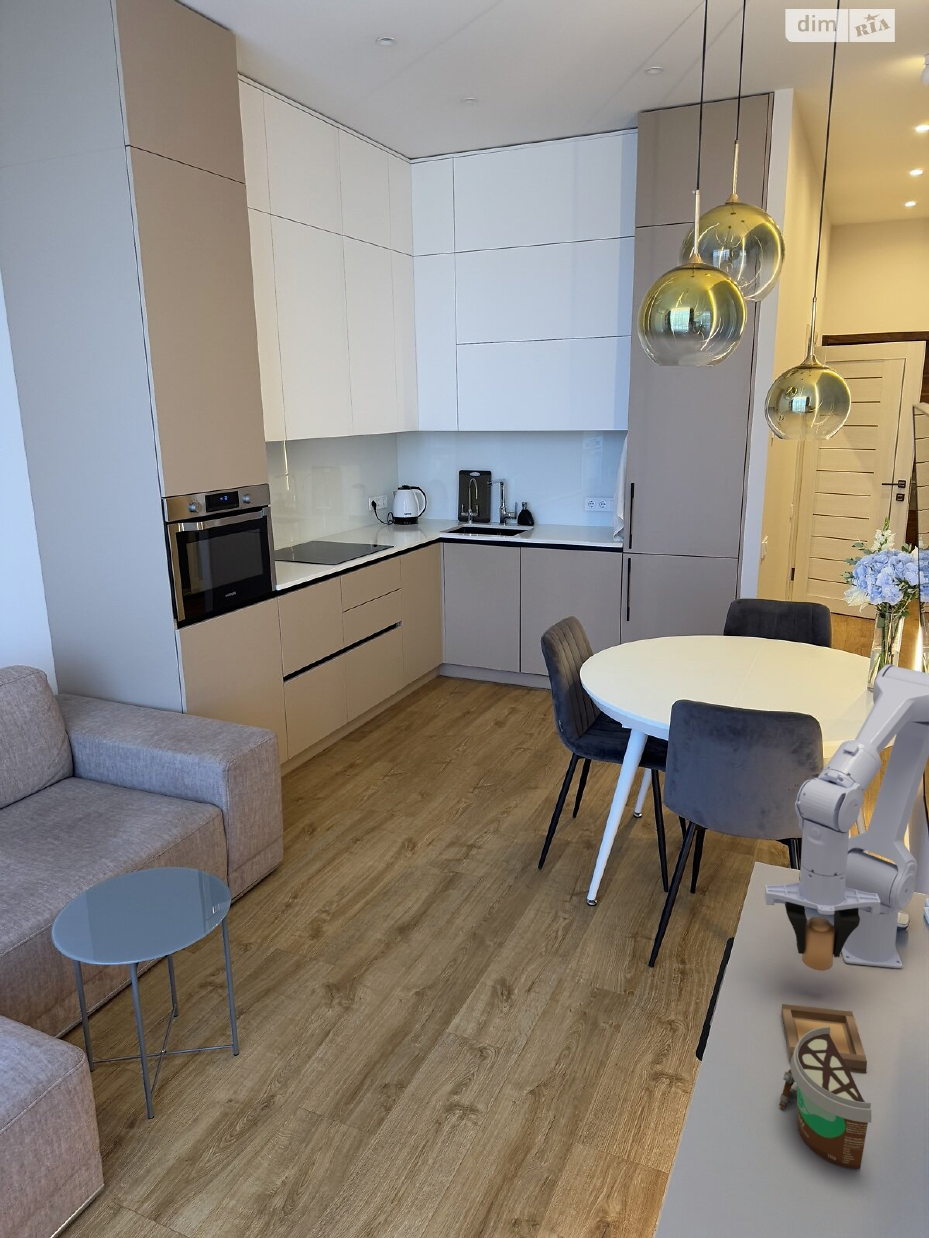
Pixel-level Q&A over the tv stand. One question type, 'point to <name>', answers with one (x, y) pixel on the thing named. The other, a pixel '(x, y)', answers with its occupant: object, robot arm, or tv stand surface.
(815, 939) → the wooden dowel peg
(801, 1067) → the food container
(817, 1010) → the tray
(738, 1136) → the tv stand surface
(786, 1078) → the wooden post with brackets
